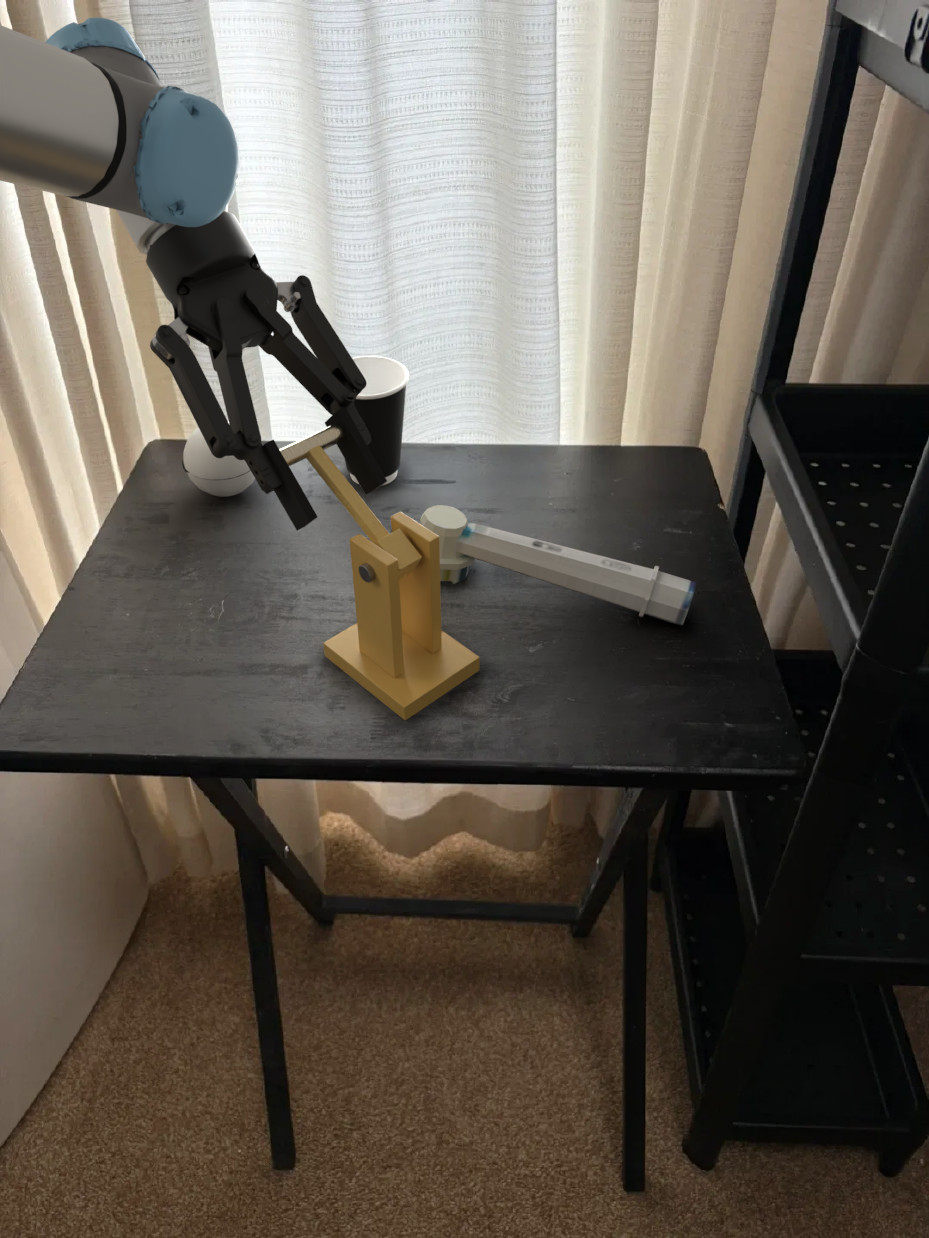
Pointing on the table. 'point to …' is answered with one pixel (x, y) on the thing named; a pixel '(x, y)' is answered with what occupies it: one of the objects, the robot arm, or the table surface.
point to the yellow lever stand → (400, 626)
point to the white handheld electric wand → (557, 566)
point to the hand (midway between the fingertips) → (342, 505)
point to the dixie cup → (382, 410)
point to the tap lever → (351, 495)
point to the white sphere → (214, 469)
